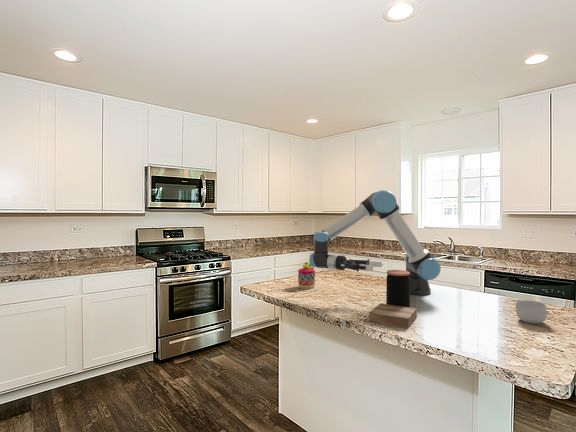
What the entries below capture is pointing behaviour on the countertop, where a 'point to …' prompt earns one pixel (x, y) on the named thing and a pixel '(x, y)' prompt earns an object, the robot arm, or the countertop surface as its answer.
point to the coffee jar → (398, 288)
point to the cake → (306, 277)
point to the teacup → (531, 311)
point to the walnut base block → (393, 315)
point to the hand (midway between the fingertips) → (377, 266)
